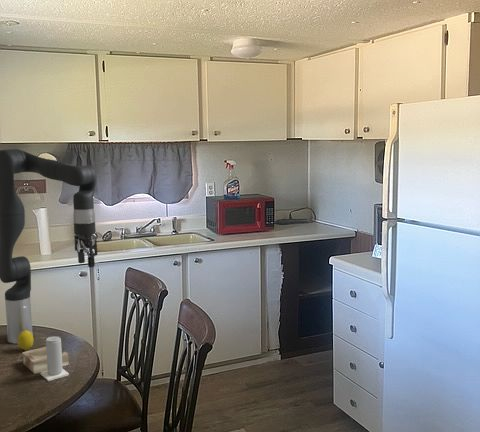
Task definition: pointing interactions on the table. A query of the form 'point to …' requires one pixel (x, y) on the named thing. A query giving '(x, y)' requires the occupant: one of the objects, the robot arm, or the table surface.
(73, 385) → the table surface
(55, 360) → the beverage can
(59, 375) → the tile
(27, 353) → the lane rack
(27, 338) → the lemon
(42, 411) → the table surface
